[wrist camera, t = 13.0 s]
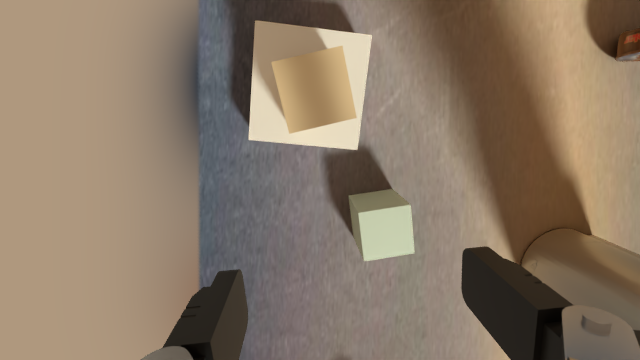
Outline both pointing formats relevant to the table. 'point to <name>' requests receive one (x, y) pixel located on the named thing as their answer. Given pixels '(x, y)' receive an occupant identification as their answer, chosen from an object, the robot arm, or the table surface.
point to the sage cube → (381, 224)
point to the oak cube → (314, 89)
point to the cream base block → (265, 97)
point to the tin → (629, 46)
